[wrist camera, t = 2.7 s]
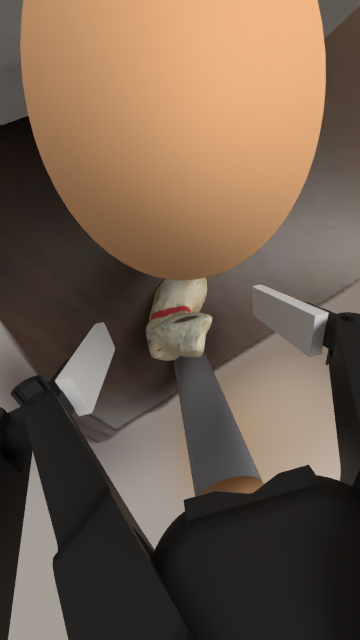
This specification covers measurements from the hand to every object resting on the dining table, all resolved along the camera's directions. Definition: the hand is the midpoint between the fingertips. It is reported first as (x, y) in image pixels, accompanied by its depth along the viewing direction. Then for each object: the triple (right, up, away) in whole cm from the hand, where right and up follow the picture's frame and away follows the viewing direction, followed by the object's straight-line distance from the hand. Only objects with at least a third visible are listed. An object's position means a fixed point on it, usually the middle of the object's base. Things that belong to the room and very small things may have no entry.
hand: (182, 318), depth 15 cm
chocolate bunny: (-1, +2, +4) cm, 5 cm away
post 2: (+1, -4, +7) cm, 9 cm away
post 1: (-2, +9, +1) cm, 9 cm away
